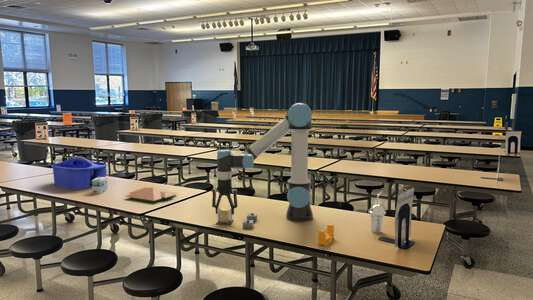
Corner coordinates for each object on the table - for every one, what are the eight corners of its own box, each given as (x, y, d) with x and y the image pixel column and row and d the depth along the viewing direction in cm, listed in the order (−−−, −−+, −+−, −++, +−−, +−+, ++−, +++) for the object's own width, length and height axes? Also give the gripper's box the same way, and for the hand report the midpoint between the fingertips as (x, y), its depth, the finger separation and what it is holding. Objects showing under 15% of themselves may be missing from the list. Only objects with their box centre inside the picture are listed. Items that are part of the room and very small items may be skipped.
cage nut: (230, 220, 207) (230, 207, 206) (227, 223, 201) (227, 210, 201) (222, 219, 208) (222, 207, 207) (219, 223, 202) (219, 210, 201)
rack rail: (257, 219, 210) (257, 212, 210) (252, 228, 194) (252, 221, 194) (248, 218, 211) (248, 212, 210) (242, 228, 195) (242, 221, 195)
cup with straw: (364, 229, 193) (365, 191, 191) (378, 227, 197) (379, 190, 194) (375, 235, 185) (376, 195, 183) (389, 232, 189) (391, 193, 186)
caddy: (80, 179, 319) (79, 152, 316) (116, 184, 298) (115, 155, 295) (44, 186, 292) (41, 156, 289) (80, 193, 271) (78, 161, 268)
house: (157, 206, 238) (157, 193, 237) (120, 200, 253) (119, 188, 252) (180, 198, 258) (180, 186, 257) (145, 192, 273) (144, 182, 272)
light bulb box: (101, 194, 266) (100, 179, 264) (92, 194, 266) (91, 179, 264) (108, 191, 276) (107, 176, 275) (99, 191, 276) (98, 176, 275)
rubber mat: (233, 220, 208) (233, 219, 208) (230, 225, 200) (230, 224, 200) (219, 219, 209) (219, 219, 209) (215, 224, 201) (215, 223, 201)
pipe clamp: (326, 246, 172) (326, 232, 171) (318, 244, 174) (318, 230, 173) (336, 238, 182) (337, 225, 181) (328, 236, 184) (328, 223, 183)
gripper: (243, 177, 204) (243, 218, 207) (209, 176, 206) (209, 217, 209) (240, 180, 197) (240, 222, 199) (205, 179, 199) (205, 221, 202)
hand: (225, 219), depth 204 cm, fingers open, 6 cm apart
